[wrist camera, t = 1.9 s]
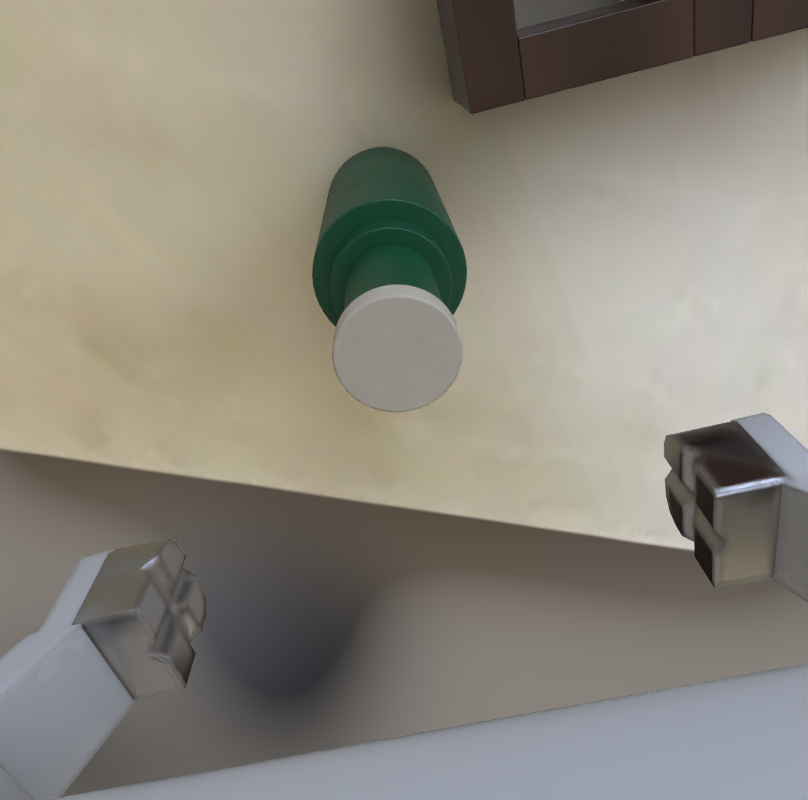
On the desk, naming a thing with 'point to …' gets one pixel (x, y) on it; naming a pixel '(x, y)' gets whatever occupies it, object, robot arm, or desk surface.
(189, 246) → the desk surface
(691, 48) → the hole block
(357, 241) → the bottle
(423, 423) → the desk surface
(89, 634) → the robot arm
